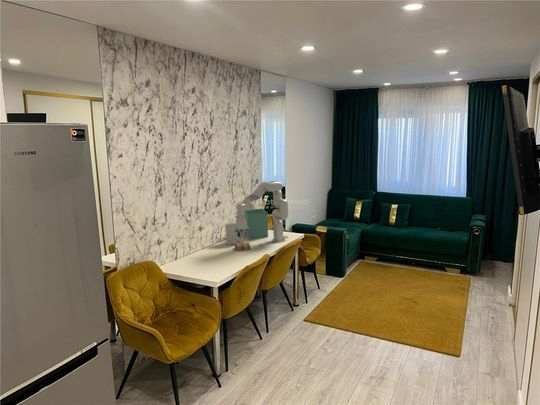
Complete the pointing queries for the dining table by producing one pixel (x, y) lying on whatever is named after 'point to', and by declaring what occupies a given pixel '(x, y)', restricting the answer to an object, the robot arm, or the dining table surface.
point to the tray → (242, 246)
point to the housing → (242, 233)
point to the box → (257, 223)
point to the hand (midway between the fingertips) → (241, 236)
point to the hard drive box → (232, 234)
